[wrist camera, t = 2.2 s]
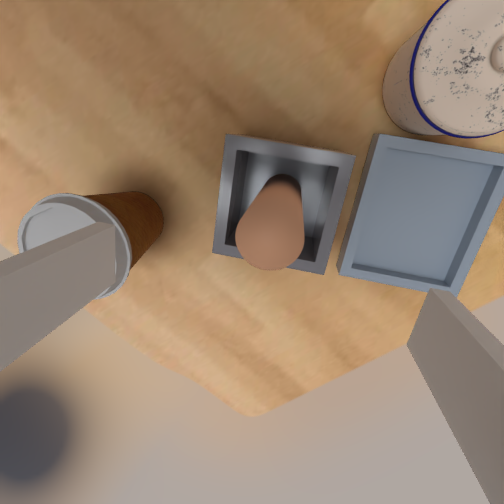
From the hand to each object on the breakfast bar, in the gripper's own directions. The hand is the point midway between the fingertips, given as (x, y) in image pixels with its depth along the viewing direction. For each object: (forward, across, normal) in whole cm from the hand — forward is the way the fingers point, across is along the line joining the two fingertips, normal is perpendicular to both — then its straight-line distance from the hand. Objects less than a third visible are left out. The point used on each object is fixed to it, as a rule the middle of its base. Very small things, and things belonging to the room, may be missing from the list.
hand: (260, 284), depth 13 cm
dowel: (+20, 0, 0) cm, 20 cm away
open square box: (+21, 0, 0) cm, 21 cm away
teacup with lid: (+22, +12, +14) cm, 28 cm away
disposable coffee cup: (+22, -16, -6) cm, 28 cm away
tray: (+21, +13, 0) cm, 25 cm away
